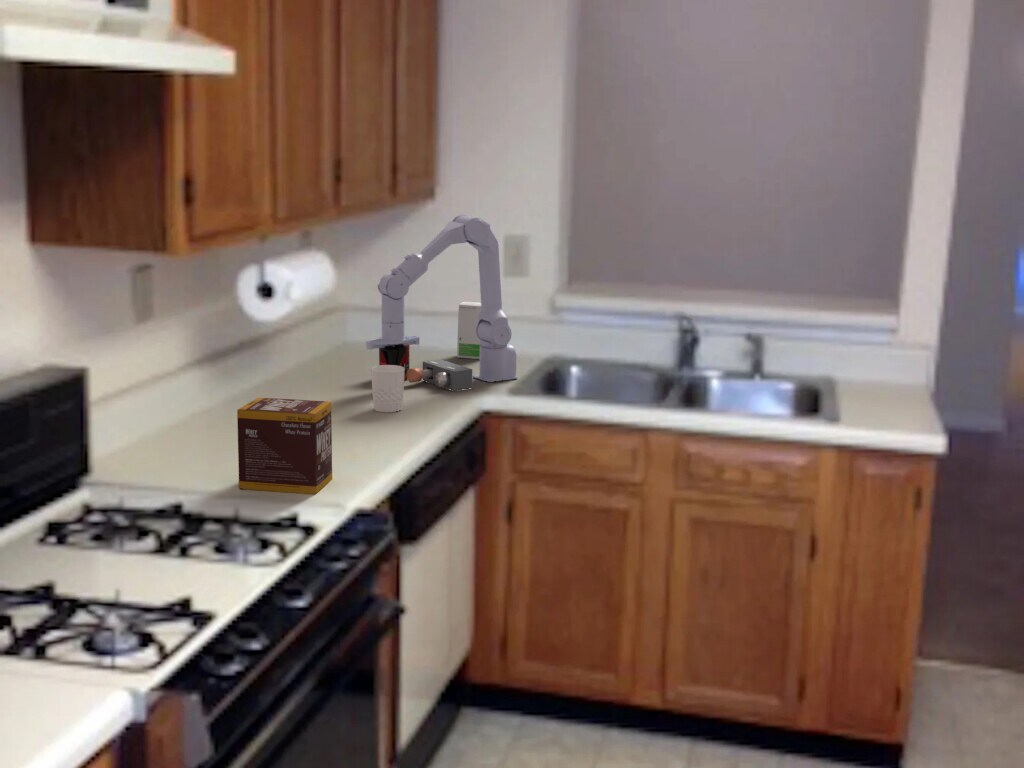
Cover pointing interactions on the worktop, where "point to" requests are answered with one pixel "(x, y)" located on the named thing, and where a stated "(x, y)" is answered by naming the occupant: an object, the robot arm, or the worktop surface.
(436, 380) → the knob aluminium
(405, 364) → the canned food
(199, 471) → the worktop surface
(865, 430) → the worktop surface
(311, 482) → the supplement box
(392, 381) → the white cup
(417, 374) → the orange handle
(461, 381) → the mount
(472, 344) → the skincare box
